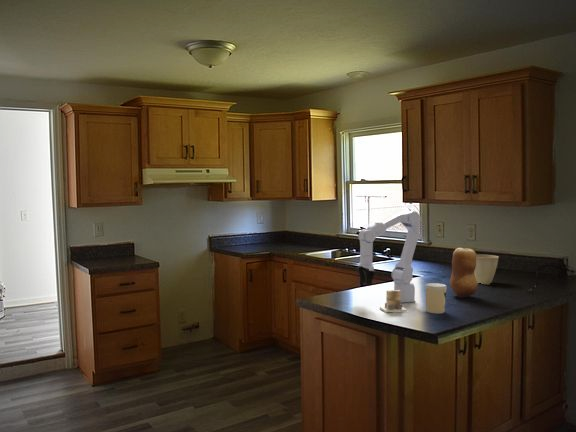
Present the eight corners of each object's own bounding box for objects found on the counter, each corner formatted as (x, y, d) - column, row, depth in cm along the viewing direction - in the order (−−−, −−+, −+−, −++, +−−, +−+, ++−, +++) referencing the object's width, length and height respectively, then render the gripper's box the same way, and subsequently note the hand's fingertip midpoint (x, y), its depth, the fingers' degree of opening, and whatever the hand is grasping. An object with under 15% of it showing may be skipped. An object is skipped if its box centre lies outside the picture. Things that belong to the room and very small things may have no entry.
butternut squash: (482, 299, 260) (483, 249, 259) (456, 300, 258) (457, 250, 257) (468, 294, 274) (469, 246, 273) (443, 294, 272) (445, 246, 271)
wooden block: (398, 307, 239) (399, 290, 238) (400, 308, 237) (400, 290, 236) (386, 308, 237) (386, 290, 237) (388, 309, 236) (388, 291, 235)
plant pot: (501, 286, 297) (501, 258, 296) (473, 285, 299) (474, 257, 298) (494, 281, 312) (494, 254, 311) (468, 280, 314) (468, 254, 313)
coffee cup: (449, 313, 232) (450, 286, 231) (428, 314, 231) (429, 287, 230) (441, 308, 241) (442, 282, 240) (421, 309, 240) (422, 283, 240)
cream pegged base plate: (400, 308, 242) (400, 301, 241) (406, 311, 235) (407, 305, 235) (379, 309, 240) (380, 302, 239) (385, 312, 233) (386, 306, 233)
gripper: (353, 253, 254) (352, 281, 255) (363, 257, 240) (363, 286, 241) (367, 252, 256) (366, 280, 256) (378, 256, 241) (377, 286, 242)
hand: (365, 283), depth 249 cm, fingers open, 7 cm apart
